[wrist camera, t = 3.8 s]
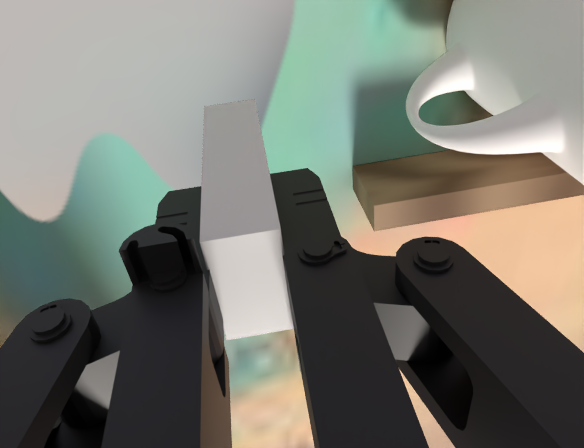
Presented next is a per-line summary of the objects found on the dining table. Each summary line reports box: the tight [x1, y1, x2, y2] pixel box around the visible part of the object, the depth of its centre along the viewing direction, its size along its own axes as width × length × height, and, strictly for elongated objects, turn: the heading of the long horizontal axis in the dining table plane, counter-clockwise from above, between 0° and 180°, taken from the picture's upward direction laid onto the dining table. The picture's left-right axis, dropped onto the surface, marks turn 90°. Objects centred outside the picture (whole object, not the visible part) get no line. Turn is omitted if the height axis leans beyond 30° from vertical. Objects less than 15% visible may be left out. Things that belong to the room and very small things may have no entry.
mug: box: [406, 0, 584, 185], centre depth 18 cm, size 9×12×11 cm
